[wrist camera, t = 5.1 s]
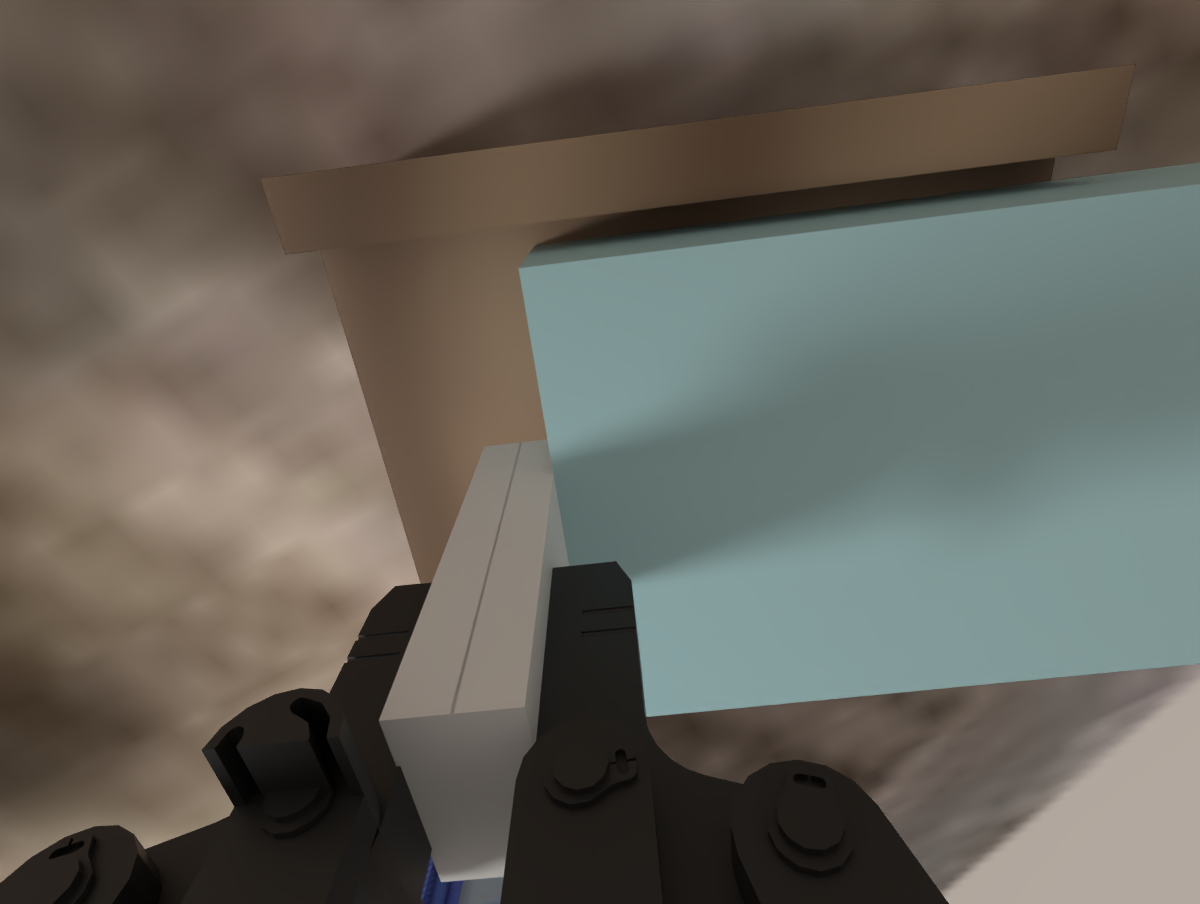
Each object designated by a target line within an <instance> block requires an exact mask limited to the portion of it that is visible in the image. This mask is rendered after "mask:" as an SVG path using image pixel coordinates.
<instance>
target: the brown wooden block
mask: <svg viewBox="0 0 1200 904" xmlns="http://www.w3.org/2000/svg"><path fill="white" fill-rule="evenodd" d="M1134 69H1135V64H1131V65H1124V66H1116V67H1108V68H1101V69H1093V70H1086V71H1078V72H1070V73H1063V74H1055V75H1047V76H1040V77H1032V78H1025V79H1017V80H1009V81H1002V82H994V83H986V84H979V85H971V86H964V87H956V88H948V89H941V90H933V91H925V92H918V93H910V94H903V95H895V96H887V97H880V98H872V99H864V100H857V101H849V102H842V103H834V104H826V105H819V106H811V107H803V108H796V109H788V110H781V111H773V112H765V113H758V114H750V115H743V116H735V117H727V118H720V119H712V120H704V121H697V122H689V123H682V124H674V125H666V126H659V127H651V128H643V129H636V130H628V131H621V132H613V133H605V134H598V135H590V136H582V137H575V138H567V139H560V140H552V141H544V142H537V143H529V144H521V145H514V146H506V147H499V148H491V149H483V150H476V151H468V152H460V153H453V154H445V155H438V156H430V157H422V158H415V159H407V160H399V161H392V162H384V163H377V164H369V165H361V166H354V167H346V168H338V169H331V170H323V171H316V172H308V173H300V174H293V175H285V176H277V177H270V178H262V179H261V182H262V185H263V188H264V191H265V194H266V197H267V200H268V203H269V206H270V209H271V213H272V216H273V219H274V222H275V225H276V228H277V231H278V234H279V237H280V240H281V243H282V246H283V249H284V252H285V255H287V254H295V253H303V252H311V251H318V250H320V252H321V255H322V258H323V262H324V265H325V268H326V272H327V275H328V278H329V282H330V285H331V288H332V292H333V295H334V298H335V301H336V305H337V308H338V311H339V315H340V318H341V321H342V325H343V328H344V331H345V335H346V338H347V341H348V344H349V348H350V351H351V354H352V358H353V361H354V364H355V368H356V371H357V374H358V377H359V381H360V384H361V387H362V391H363V394H364V397H365V401H366V404H367V407H368V411H369V414H370V417H371V420H372V424H373V427H374V430H375V434H376V437H377V440H378V444H379V447H380V450H381V454H382V457H383V460H384V463H385V467H386V470H387V473H388V477H389V480H390V483H391V487H392V490H393V493H394V497H395V500H396V503H397V506H398V510H399V513H400V516H401V520H402V523H403V526H404V530H405V533H406V536H407V539H408V543H409V546H410V549H411V553H412V556H413V559H414V563H415V566H416V569H417V573H418V576H419V579H420V582H421V584H422V583H432V581H433V579H434V576H435V574H436V571H437V568H438V566H439V563H440V561H441V558H442V555H443V553H444V550H445V548H446V545H447V542H448V540H449V537H450V535H451V532H452V529H453V527H454V524H455V522H456V519H457V516H458V514H459V511H460V509H461V506H462V504H463V501H464V498H465V496H466V493H467V491H468V488H469V485H470V483H471V480H472V478H473V475H474V472H475V470H476V467H477V465H478V462H479V459H480V457H481V454H482V452H483V449H484V446H493V445H502V444H511V443H520V442H529V441H538V440H547V434H546V428H545V422H544V416H543V410H542V404H541V398H540V392H539V387H538V381H537V375H536V369H535V363H534V357H533V351H532V345H531V339H530V333H529V327H528V321H527V315H526V310H525V304H524V298H523V292H522V286H521V280H520V274H519V267H520V266H521V264H522V263H523V261H524V260H525V259H526V257H527V256H528V254H529V253H530V252H531V250H532V249H533V248H534V246H535V245H542V244H550V243H558V242H566V241H574V240H582V239H590V238H598V237H606V236H614V235H622V234H630V233H638V232H646V231H654V230H662V229H670V228H678V227H686V226H694V225H702V224H710V223H718V222H726V221H734V220H742V219H750V218H758V217H766V216H774V215H782V214H790V213H798V212H806V211H814V210H822V209H830V208H838V207H846V206H854V205H862V204H870V203H878V202H886V201H894V200H902V199H910V198H918V197H926V196H934V195H942V194H950V193H958V192H966V191H974V190H982V189H990V188H998V187H1006V186H1014V185H1022V184H1030V183H1038V182H1046V181H1051V177H1052V171H1053V166H1054V161H1055V157H1062V156H1070V155H1078V154H1086V153H1094V152H1102V151H1110V150H1116V148H1117V144H1118V140H1119V135H1120V131H1121V126H1122V122H1123V117H1124V113H1125V109H1126V104H1127V100H1128V95H1129V91H1130V86H1131V82H1132V77H1133V73H1134Z"/></svg>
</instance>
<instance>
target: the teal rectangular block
mask: <svg viewBox="0 0 1200 904" xmlns="http://www.w3.org/2000/svg"><path fill="white" fill-rule="evenodd" d="M519 274H520V280H521V286H522V292H523V298H524V304H525V310H526V315H527V321H528V327H529V333H530V339H531V345H532V351H533V357H534V363H535V369H536V375H537V381H538V387H539V392H540V398H541V404H542V410H543V416H544V422H545V428H546V434H547V440H548V446H549V452H550V458H551V463H552V469H553V473H554V479H555V485H556V491H557V497H558V503H559V509H560V515H561V521H562V527H563V532H564V538H565V544H566V550H567V556H568V562H569V566H575V565H584V564H594V563H603V562H613V561H616V562H617V563H618V564H619V565H620V567H621V568H622V569H623V571H624V572H625V573H626V574H627V576H628V577H629V578H630V579H631V581H632V590H633V598H634V607H635V615H636V624H637V633H638V641H639V650H640V659H641V669H642V679H643V689H644V698H645V708H646V717H651V716H662V715H672V714H683V713H693V712H704V711H714V710H724V709H735V708H745V707H756V706H766V705H776V704H787V703H797V702H808V701H818V700H829V699H839V698H849V697H860V696H870V695H881V694H891V693H901V692H912V691H922V690H933V689H943V688H954V687H964V686H974V685H985V684H995V683H1006V682H1016V681H1026V680H1037V679H1047V678H1058V677H1068V676H1078V675H1089V674H1099V673H1110V672H1120V671H1131V670H1141V669H1151V668H1162V667H1172V666H1183V665H1193V664H1200V162H1199V163H1191V164H1183V165H1175V166H1167V167H1159V168H1151V169H1143V170H1134V171H1126V172H1118V173H1110V174H1102V175H1094V176H1086V177H1078V178H1070V179H1062V180H1054V181H1046V182H1038V183H1030V184H1022V185H1014V186H1006V187H998V188H990V189H982V190H974V191H966V192H958V193H950V194H942V195H934V196H926V197H918V198H910V199H902V200H894V201H886V202H878V203H870V204H862V205H854V206H846V207H838V208H830V209H822V210H814V211H806V212H798V213H790V214H782V215H774V216H766V217H758V218H750V219H742V220H734V221H726V222H718V223H710V224H702V225H694V226H686V227H678V228H670V229H662V230H654V231H646V232H638V233H630V234H622V235H614V236H606V237H598V238H590V239H582V240H574V241H566V242H558V243H550V244H542V245H535V246H534V248H533V249H532V250H531V252H530V253H529V254H528V256H527V257H526V259H525V260H524V261H523V263H522V264H521V266H520V267H519Z"/></svg>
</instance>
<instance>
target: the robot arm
mask: <svg viewBox="0 0 1200 904" xmlns="http://www.w3.org/2000/svg"><path fill="white" fill-rule="evenodd" d="M358 636H359V640H358V641H355V643H354V645H353V647H352V649H351V651H350V653H349V655H348V657H347V658H348V662H347V663H344V665H343V667H342V669H341V671H340V673H339V675H338V677H337V679H336V681H335V683H334V685H333V687H332V689H331V691H330V693H327V692H326V691H324V690H320V689H304V688H300V689H296V690H291V691H287V692H283V693H279V694H275V695H273V696H271V697H269V698H266V699H264V700H262V701H260V702H258V703H256V704H254V705H252V706H250V707H248V708H246V709H245V710H244V711H242V712H241V713H240V714H238V715H237V716H236V717H234V718H233V719H232V720H230V721H229V722H228V723H226V724H225V725H224V726H222V727H221V728H220V730H219V731H218V732H217V733H216V734H215V735H214V737H213V738H212V739H211V740H210V741H209V742H208V743H207V745H206V746H205V747H204V748H203V749H202V752H203V753H204V755H205V757H206V759H207V760H208V762H209V764H210V765H211V767H212V769H213V771H214V772H215V774H216V776H217V777H218V779H219V781H220V783H221V784H222V786H223V788H224V789H225V791H226V793H227V795H228V796H229V798H230V800H231V802H232V803H233V805H234V809H233V811H232V812H231V814H230V816H229V817H226V818H224V819H222V820H220V821H218V822H216V823H213V824H211V825H208V826H205V827H203V828H200V829H197V830H195V831H192V832H190V833H187V834H184V835H182V836H179V837H176V838H174V839H171V840H168V841H166V842H163V843H161V844H158V845H155V846H153V847H150V848H147V849H144V848H143V846H142V845H141V843H140V842H139V841H138V839H137V838H136V836H135V835H134V834H133V833H131V832H129V831H128V830H126V829H124V828H123V827H121V826H119V825H114V826H95V827H92V828H89V829H86V830H84V831H81V832H78V833H75V834H73V835H70V836H67V837H64V838H63V839H61V840H59V841H58V842H56V843H54V844H53V845H51V846H49V847H48V848H46V849H44V850H43V851H41V852H39V853H38V854H36V855H34V856H33V857H31V858H30V859H29V860H27V861H26V862H25V863H24V864H23V865H21V866H20V867H19V868H18V869H17V870H15V871H14V872H13V873H12V874H11V875H10V876H8V877H7V878H6V879H5V880H4V881H2V882H1V883H0V904H423V902H422V899H421V894H422V890H423V886H424V882H425V877H426V873H427V869H428V864H429V860H430V856H431V857H432V860H433V863H434V865H435V868H436V870H437V873H438V876H439V878H440V881H441V882H449V881H460V880H472V879H484V878H496V877H503V885H502V893H501V901H500V904H949V903H948V902H947V901H946V899H945V898H944V896H943V895H942V894H941V892H940V891H939V889H938V888H937V887H936V885H935V884H934V883H933V881H932V880H931V878H930V877H929V876H928V874H927V873H926V871H925V870H924V869H923V867H922V866H921V865H920V863H919V862H918V860H917V859H916V858H915V856H914V855H913V853H912V852H911V851H910V849H909V848H908V847H907V845H906V844H905V842H904V841H903V840H902V838H901V837H900V835H899V834H898V833H897V831H896V830H895V829H894V827H893V826H892V824H891V823H890V822H889V820H888V819H887V817H886V816H885V815H884V813H883V812H882V811H881V809H880V808H879V806H878V805H877V804H876V803H875V802H874V801H873V800H872V799H871V798H870V797H869V796H868V795H867V794H866V793H865V792H864V791H863V790H862V789H861V788H860V787H859V786H858V785H857V784H856V783H855V782H854V781H853V780H851V779H849V778H847V777H846V776H844V775H842V774H840V773H838V772H837V771H835V770H833V769H831V768H829V767H828V766H825V765H820V764H815V763H810V762H806V761H801V760H792V761H785V762H777V763H770V764H769V765H767V766H765V767H763V768H762V769H760V770H758V771H756V772H755V773H753V774H751V775H750V776H748V778H747V779H746V781H745V782H744V784H740V783H735V782H731V781H727V780H722V779H718V778H714V777H709V776H705V775H703V774H700V773H697V772H694V771H691V770H688V769H686V768H684V767H683V766H681V765H679V764H678V763H676V762H675V761H673V760H671V759H670V758H669V757H668V756H667V755H666V754H665V753H664V752H663V751H662V750H661V749H660V748H659V747H658V746H657V744H656V743H655V741H654V739H653V738H652V736H651V734H650V732H649V730H648V726H647V718H646V708H645V698H644V689H643V679H642V669H641V659H640V650H639V641H638V633H637V624H636V615H635V607H634V598H633V590H632V581H631V579H630V578H629V577H628V576H627V574H626V573H625V572H624V571H623V569H622V568H621V567H620V565H619V564H618V563H617V562H616V561H613V562H603V563H594V564H584V565H575V566H569V562H568V556H567V550H566V544H565V538H564V532H563V527H562V521H561V515H560V509H559V503H558V497H557V491H556V485H555V479H554V473H553V469H552V463H551V458H550V452H549V446H548V440H538V441H529V442H520V443H511V444H502V445H493V446H484V449H483V452H482V454H481V457H480V459H479V462H478V465H477V467H476V470H475V472H474V475H473V478H472V480H471V483H470V485H469V488H468V491H467V493H466V496H465V498H464V501H463V504H462V506H461V509H460V511H459V514H458V516H457V519H456V522H455V524H454V527H453V529H452V532H451V535H450V537H449V540H448V542H447V545H446V548H445V550H444V553H443V555H442V558H441V561H440V563H439V566H438V568H437V571H436V574H435V576H434V579H433V581H432V583H422V584H413V585H403V586H395V587H394V588H393V589H392V590H391V591H390V592H389V593H388V594H387V595H386V596H385V597H384V598H383V599H382V600H381V601H380V602H379V603H378V604H376V605H375V606H374V607H373V608H372V609H371V611H370V613H369V615H368V617H367V619H366V621H365V623H364V625H363V627H362V629H361V631H360V633H359V635H358Z"/></svg>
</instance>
